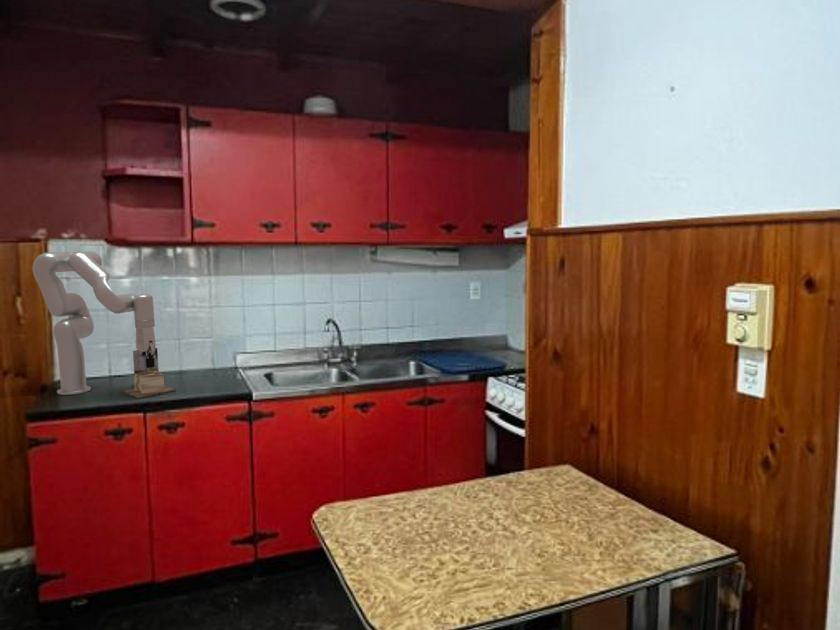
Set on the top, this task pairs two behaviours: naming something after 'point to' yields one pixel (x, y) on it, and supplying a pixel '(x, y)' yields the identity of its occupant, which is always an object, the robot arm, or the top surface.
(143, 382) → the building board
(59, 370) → the robot arm
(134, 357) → the coffee box
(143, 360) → the grey cube
